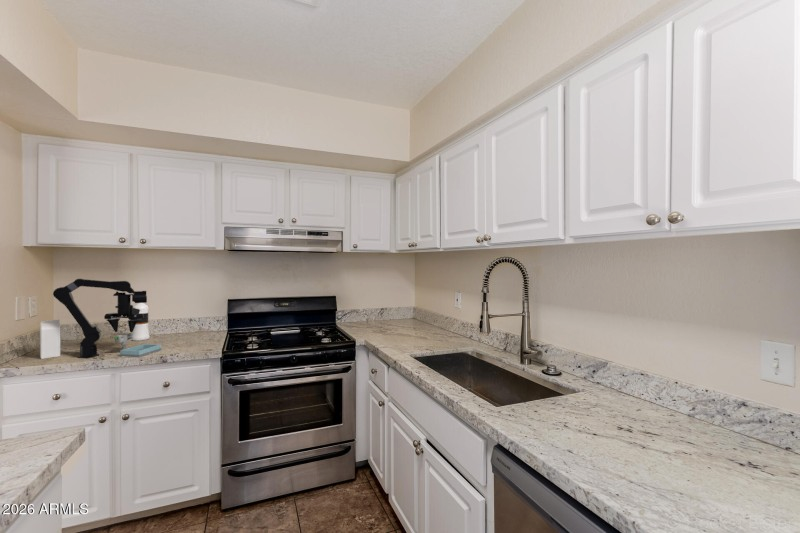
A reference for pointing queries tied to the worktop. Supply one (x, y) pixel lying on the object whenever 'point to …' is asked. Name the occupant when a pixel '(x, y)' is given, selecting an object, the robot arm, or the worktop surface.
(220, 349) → the worktop surface
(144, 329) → the vodka
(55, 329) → the milk carton
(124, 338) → the mechanical component
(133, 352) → the tray
